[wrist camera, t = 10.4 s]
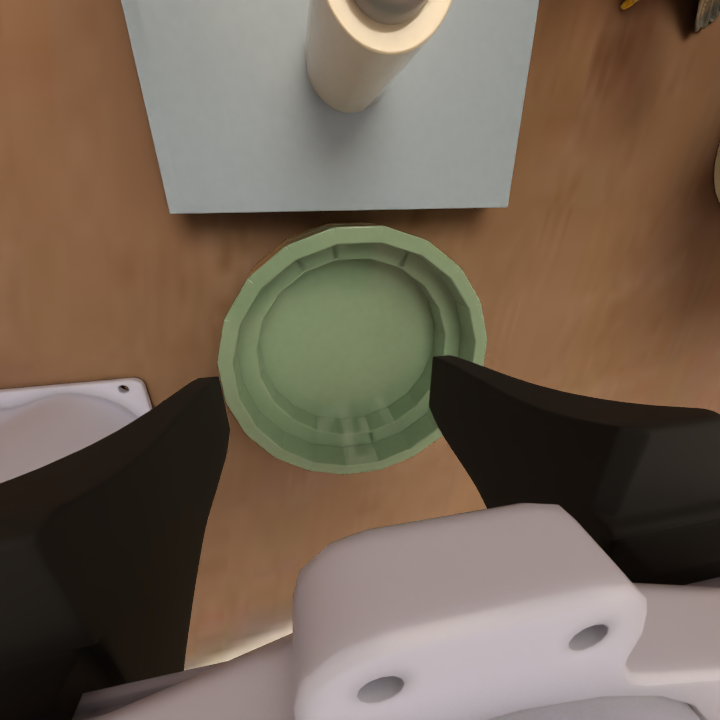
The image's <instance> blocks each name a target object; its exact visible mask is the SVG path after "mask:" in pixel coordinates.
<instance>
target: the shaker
mask: <svg viewBox="0 0 720 720" xmlns="http://www.w3.org/2000/svg"><path fill="white" fill-rule="evenodd" d="M451 3H452V0H309V6H308V17H307V28H306V38H305V49H304V58H305V66H306V71H307V74H308V77H309V80H310V82H311V85H312V87H313V88H314V90H315V92H316V93H317V94H318V96H319V97H320V98H321V99H322V100H323V101H324V102H325V103H326V104H327V105H328V106H330V107H332V108H333V109H335V110H337V111H340V112H344V113H357V112H361V111H364V110H366V109H368V108H369V107H371V106H372V105H373V104H375V102H376V101H377V100H378V99H379V98H380V97H381V96H382V95H383V93H384V92H385V91H386V90H387V89H388V87H389V86H390V85H391V84H392V83H393V82H394V80H395V79H396V78H397V77H398V76H399V74H400V73H401V72H402V71H403V70H404V69H405V67H406V66H407V65H408V64H409V63H410V61H411V60H412V59H413V58H414V57H415V56H416V54H417V53H418V52H419V51H420V50H421V48H422V47H423V46H424V45H425V44H426V43H427V41H428V40H429V39H430V38H431V37H432V35H433V34H434V33H435V32H436V31H437V29H438V28H439V26H440V25H441V24H442V22H443V20H444V18H445V16H446V15H447V12H448V10H449V8H450V5H451Z"/></svg>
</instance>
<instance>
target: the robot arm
mask: <svg viewBox="0 0 720 720" xmlns="http://www.w3.org/2000/svg"><path fill="white" fill-rule="evenodd" d="M121 385H125V386H127V387H128V389H129V390H125V389H123V388H122V387H121ZM429 408H430V411H431V413H432V415H433V418H434V420H435V422H436V424H437V426H438V428H439V430H440V431H441V433H442V435H443V436H444V438H445V439H446V441H447V442H448V444H449V445H450V447H451V448H452V450H453V451H454V453H455V455H456V456H457V458H458V459H459V461H460V462H461V464H462V465H463V467H464V468H465V470H466V471H467V473H468V474H469V476H470V477H471V479H472V481H473V482H474V484H475V486H476V487H477V489H478V491H479V493H480V495H481V497H482V499H483V501H484V503H485V505H486V507H487V509H483V510H477V511H472V512H466V513H460V514H454V515H448V516H443V517H437V518H431V519H425V520H420V521H414V522H408V523H402V524H396V525H391V526H385V527H379V528H373V529H367V530H364V531H361V532H358V533H355V534H353V535H350V536H347V537H344V538H342V539H339V540H336V541H333V542H331V543H330V544H328V545H327V546H326V547H325V548H324V549H323V550H322V551H321V552H320V553H318V554H317V555H316V556H315V557H314V558H313V559H312V560H311V561H310V562H308V563H307V564H306V565H305V566H304V567H303V568H302V569H301V570H300V571H299V575H298V578H297V582H296V586H295V590H294V594H293V633H292V634H289V635H287V636H285V637H282V638H280V639H278V640H275V641H273V642H271V643H269V644H266V645H264V646H262V647H259V648H257V649H255V650H252V651H250V652H248V653H246V654H243V655H241V656H239V657H236V658H234V659H232V660H229V661H227V662H222V663H218V664H213V665H209V666H204V667H200V668H195V669H190V670H186V671H184V663H185V654H186V647H187V639H188V632H189V625H190V618H191V610H192V603H193V597H194V590H195V584H196V578H197V572H198V565H199V560H200V554H201V549H202V543H203V538H204V532H205V528H206V524H207V520H208V516H209V513H210V509H211V506H212V503H213V499H214V496H215V493H216V489H217V486H218V483H219V479H220V476H221V473H222V469H223V466H224V462H225V458H226V454H227V448H228V440H229V432H230V428H229V423H228V418H227V414H226V409H225V404H224V400H223V395H222V390H221V385H220V381H219V376H218V377H207V378H198V379H196V380H194V381H192V382H191V383H189V384H188V385H186V386H185V387H183V388H182V389H180V390H179V391H178V392H176V393H175V394H173V395H172V396H170V397H169V398H168V399H166V400H165V401H163V402H162V403H160V404H159V405H158V406H156V407H155V408H152V405H151V402H150V399H149V396H148V392H147V389H146V386H145V384H144V382H143V381H142V380H141V379H139V378H123V379H111V380H100V381H89V382H78V383H67V384H56V385H45V386H33V387H22V388H11V389H0V720H720V414H718V413H716V412H714V411H711V410H707V409H700V408H685V407H669V406H654V405H643V404H635V403H626V402H618V401H611V400H604V399H598V398H592V397H587V396H581V395H576V394H571V393H567V392H562V391H558V390H554V389H550V388H546V387H543V386H539V385H535V384H532V383H529V382H526V381H523V380H519V379H516V378H513V377H510V376H508V375H505V374H502V373H499V372H497V371H494V370H491V369H489V368H486V367H483V366H481V365H478V364H476V363H473V362H470V361H468V360H465V359H462V358H459V357H455V356H451V355H445V356H434V357H433V359H432V371H431V383H430V395H429Z"/></svg>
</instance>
